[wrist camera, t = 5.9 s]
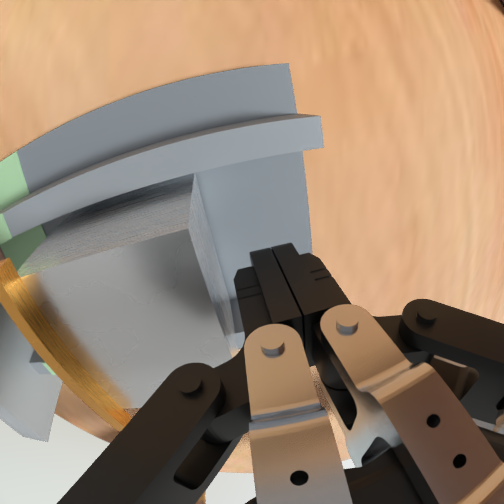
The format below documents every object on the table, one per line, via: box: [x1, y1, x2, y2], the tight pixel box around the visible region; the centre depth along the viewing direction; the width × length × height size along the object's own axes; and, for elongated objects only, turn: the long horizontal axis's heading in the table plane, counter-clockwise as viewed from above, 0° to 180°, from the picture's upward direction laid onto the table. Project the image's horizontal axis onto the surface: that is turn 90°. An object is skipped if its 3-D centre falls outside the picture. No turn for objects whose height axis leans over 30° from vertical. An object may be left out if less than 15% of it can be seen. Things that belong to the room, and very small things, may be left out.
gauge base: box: [0, 63, 324, 442], centre depth 10 cm, size 22×15×8 cm
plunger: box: [0, 173, 239, 431], centre depth 10 cm, size 6×8×7 cm
